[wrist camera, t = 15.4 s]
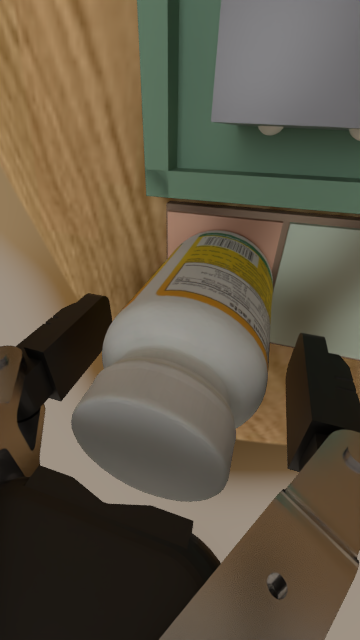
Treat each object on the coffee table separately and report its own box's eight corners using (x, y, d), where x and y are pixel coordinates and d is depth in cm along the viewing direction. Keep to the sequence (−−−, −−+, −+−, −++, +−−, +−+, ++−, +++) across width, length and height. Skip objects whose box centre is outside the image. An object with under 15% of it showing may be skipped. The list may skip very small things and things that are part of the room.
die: (493, -127, 6) (886, -598, 2) (386, 140, 9) (469, 148, 5) (265, -97, 8) (249, -376, 3) (235, 133, 11) (207, 134, 6)
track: (613, 239, 10) (640, 248, 9) (481, 377, 14) (493, 390, 13) (170, 200, 13) (164, 204, 13) (170, 317, 17) (165, 325, 17)
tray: (808, -401, 5) (1040, -633, 3) (454, 211, 10) (482, 224, 9) (153, -217, 7) (122, -299, 6) (160, 188, 13) (146, 195, 12)
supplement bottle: (252, 208, 12) (202, 352, 4) (286, 311, 14) (295, 530, 6) (150, 251, 14) (3, 389, 7) (193, 332, 16) (119, 506, 9)
